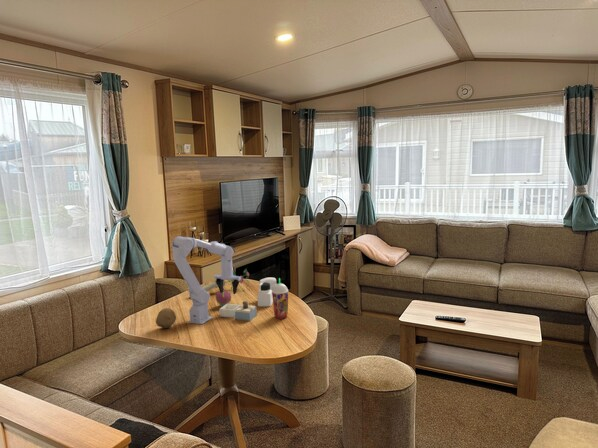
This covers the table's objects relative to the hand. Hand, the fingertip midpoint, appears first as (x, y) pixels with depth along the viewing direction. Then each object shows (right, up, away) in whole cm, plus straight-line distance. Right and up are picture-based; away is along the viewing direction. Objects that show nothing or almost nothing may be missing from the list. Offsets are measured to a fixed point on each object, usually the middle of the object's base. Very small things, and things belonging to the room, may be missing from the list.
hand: (228, 293), depth 215 cm
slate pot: (+11, -11, -10) cm, 18 cm away
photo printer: (+20, -6, +18) cm, 27 cm away
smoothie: (+28, -10, -10) cm, 32 cm away
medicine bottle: (+19, -8, +9) cm, 22 cm away
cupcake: (-5, -7, +10) cm, 13 cm away
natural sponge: (-26, -14, -20) cm, 35 cm away
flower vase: (-10, -5, +33) cm, 35 cm away
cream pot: (+2, -10, -4) cm, 11 cm away
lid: (+11, -7, -10) cm, 16 cm away
